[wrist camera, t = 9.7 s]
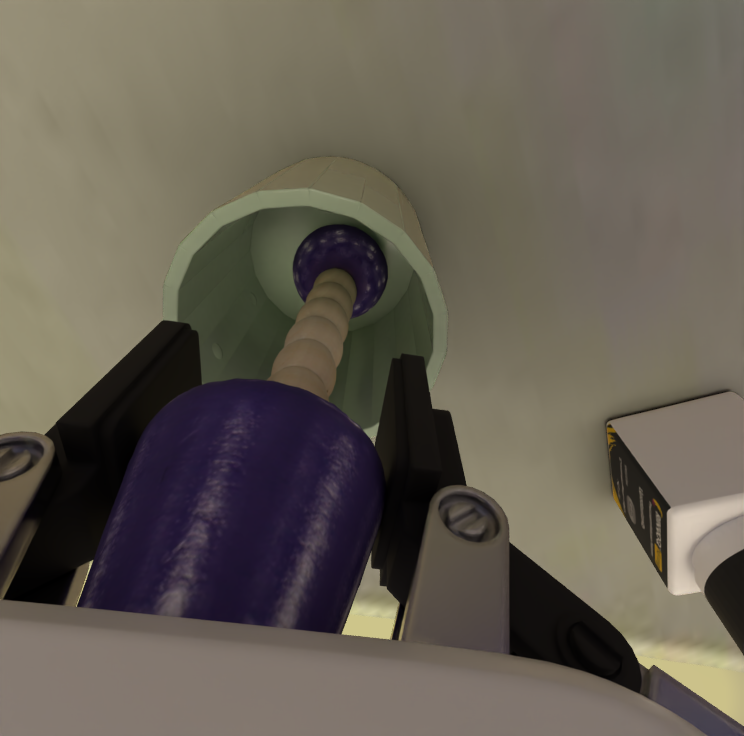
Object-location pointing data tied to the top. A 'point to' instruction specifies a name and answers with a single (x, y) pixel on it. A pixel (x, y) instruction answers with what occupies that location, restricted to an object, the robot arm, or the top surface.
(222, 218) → the mug
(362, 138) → the top surface
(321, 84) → the top surface
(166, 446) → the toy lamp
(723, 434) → the medicine bottle
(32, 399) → the top surface
